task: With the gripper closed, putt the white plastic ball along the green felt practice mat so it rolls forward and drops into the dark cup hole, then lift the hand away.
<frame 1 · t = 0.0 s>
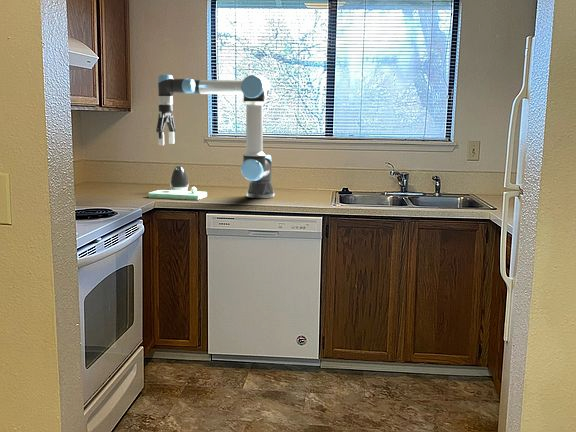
hand: (166, 144, 319), 28 cm above the countertop, fingers open, 13 cm apart
dark grey egg shape: (179, 192, 338), on the countertop
green: (177, 197, 320), on the countertop
ball: (193, 190, 318), point 4 cm above the countertop, touching green
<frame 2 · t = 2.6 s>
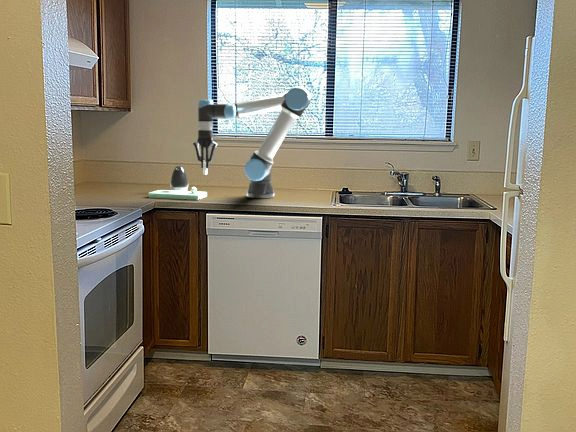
hand: (205, 174, 315), 13 cm above the countertop, fingers closed
nothing on the countertop moved.
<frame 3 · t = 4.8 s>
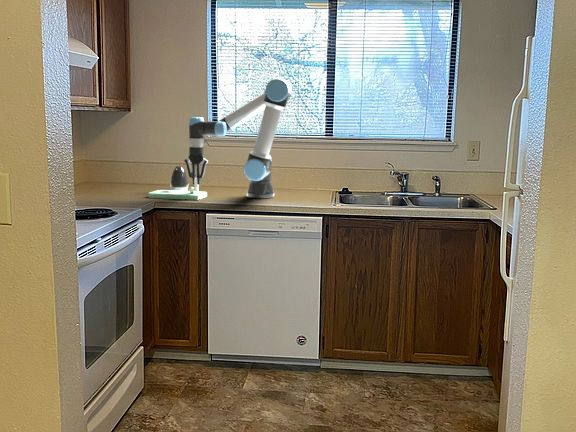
hand: (196, 190, 317), 4 cm above the countertop, fingers closed
ball: (192, 190, 318), point 4 cm above the countertop, tilted 27°, touching green
everything else where it was.
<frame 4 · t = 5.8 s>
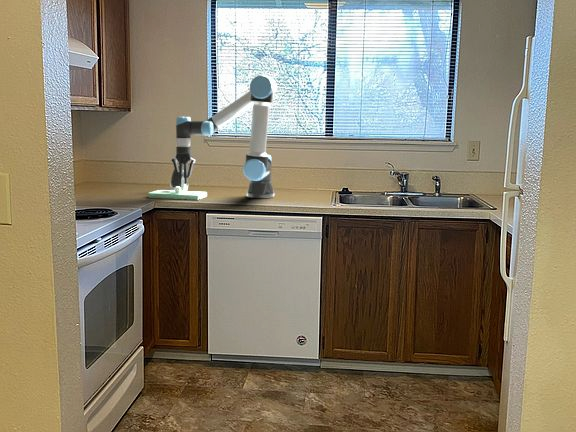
hand: (183, 190, 319), 4 cm above the countertop, fingers closed
ball: (177, 189, 319), point 4 cm above the countertop, tilted 53°, touching green
everything else where it was.
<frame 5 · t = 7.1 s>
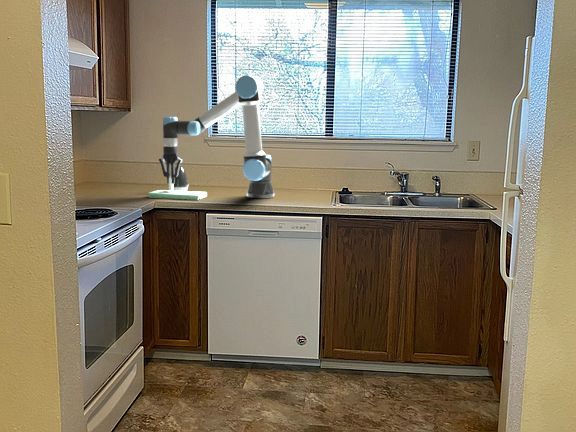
hand: (171, 189, 320), 4 cm above the countertop, fingers closed
ball: (166, 193, 321), point 2 cm above the countertop, tilted 167°
everything else where it was.
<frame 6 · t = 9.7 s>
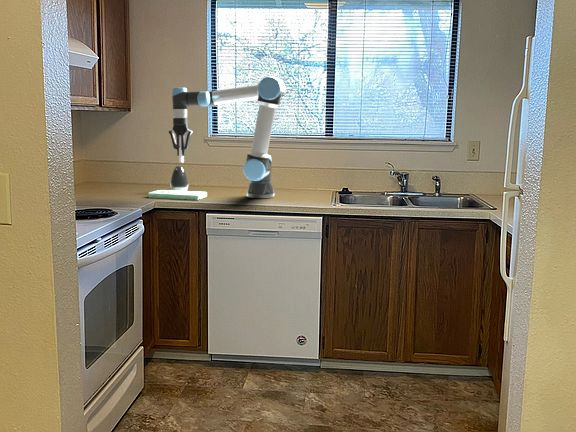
hand: (181, 162, 316), 19 cm above the countertop, fingers closed
ball: (165, 193, 321), point 2 cm above the countertop, tilted 139°
everything else where it was.
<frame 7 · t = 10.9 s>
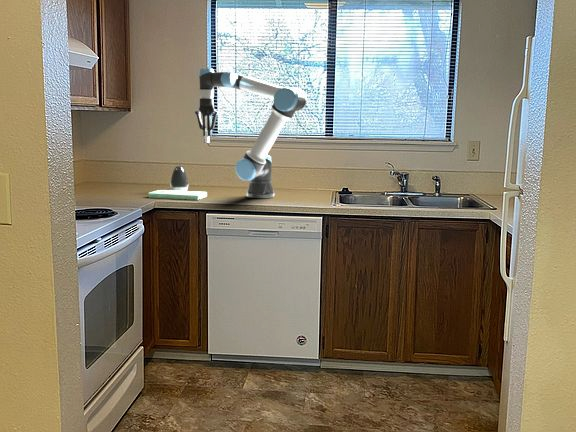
hand: (207, 142, 320), 29 cm above the countertop, fingers closed
nothing on the countertop moved.
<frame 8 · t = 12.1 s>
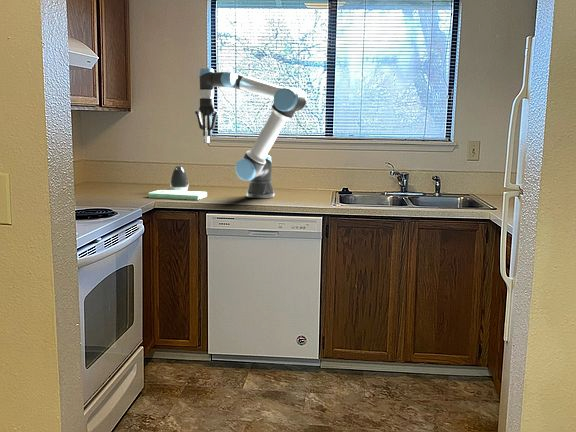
hand: (207, 142, 320), 29 cm above the countertop, fingers closed
nothing on the countertop moved.
at the end: ball 0.2 cm from the target spot in the green, point 1.7 cm above the green's base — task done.
